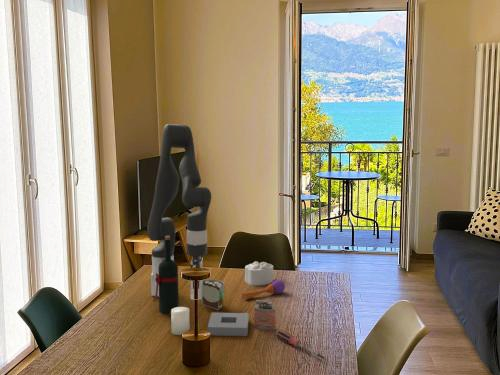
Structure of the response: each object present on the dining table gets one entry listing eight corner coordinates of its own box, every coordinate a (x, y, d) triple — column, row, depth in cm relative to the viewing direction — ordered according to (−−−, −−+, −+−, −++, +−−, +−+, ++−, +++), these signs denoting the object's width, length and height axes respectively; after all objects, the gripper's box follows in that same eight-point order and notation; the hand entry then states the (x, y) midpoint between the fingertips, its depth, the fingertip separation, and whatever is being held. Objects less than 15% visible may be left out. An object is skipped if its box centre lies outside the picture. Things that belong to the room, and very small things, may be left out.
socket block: (207, 335, 188) (207, 327, 188) (211, 320, 202) (211, 312, 202) (247, 335, 188) (247, 327, 188) (248, 320, 202) (248, 313, 201)
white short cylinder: (170, 335, 189) (169, 313, 188) (173, 327, 195) (172, 306, 194) (188, 335, 188) (187, 313, 187) (190, 328, 195) (190, 306, 194)
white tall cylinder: (190, 299, 197) (190, 273, 196) (192, 295, 201) (192, 269, 200) (201, 299, 197) (201, 273, 196) (202, 295, 201) (202, 270, 200)
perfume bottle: (276, 327, 196) (276, 300, 195) (273, 330, 193) (274, 303, 191) (255, 324, 199) (255, 298, 197) (252, 327, 195) (252, 301, 194)
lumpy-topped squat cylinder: (242, 280, 252) (242, 262, 251) (267, 276, 258) (267, 259, 257) (252, 286, 243) (252, 267, 242) (277, 282, 249) (277, 264, 247)
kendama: (239, 288, 228) (278, 278, 237) (241, 302, 228) (280, 291, 238) (246, 290, 222) (286, 279, 232) (248, 304, 222) (288, 292, 232)
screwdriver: (328, 361, 169) (328, 352, 168) (321, 364, 167) (321, 355, 167) (280, 335, 189) (280, 327, 189) (273, 337, 187) (273, 329, 187)
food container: (231, 307, 216) (231, 283, 215) (220, 311, 212) (220, 286, 210) (211, 300, 225) (210, 276, 223) (200, 303, 220) (199, 280, 219)
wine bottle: (150, 309, 213) (148, 235, 209) (174, 305, 218) (173, 233, 214) (157, 316, 206) (155, 240, 202) (181, 311, 211) (180, 237, 207)
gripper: (189, 236, 203) (189, 280, 206) (183, 246, 189) (183, 292, 192) (209, 237, 203) (209, 280, 206) (204, 246, 189) (204, 293, 192)
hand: (196, 286), depth 199 cm, fingers closed on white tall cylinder, 4 cm apart
